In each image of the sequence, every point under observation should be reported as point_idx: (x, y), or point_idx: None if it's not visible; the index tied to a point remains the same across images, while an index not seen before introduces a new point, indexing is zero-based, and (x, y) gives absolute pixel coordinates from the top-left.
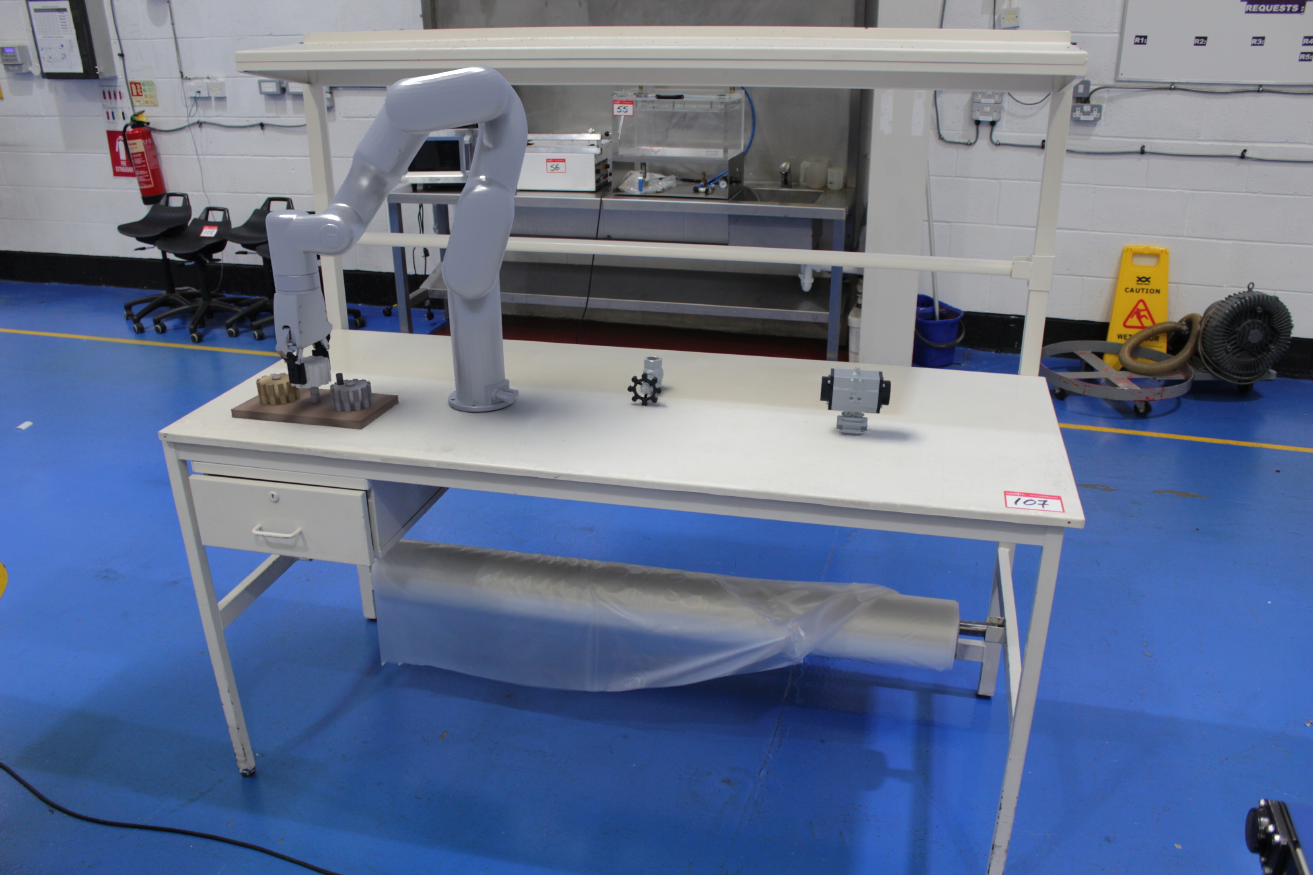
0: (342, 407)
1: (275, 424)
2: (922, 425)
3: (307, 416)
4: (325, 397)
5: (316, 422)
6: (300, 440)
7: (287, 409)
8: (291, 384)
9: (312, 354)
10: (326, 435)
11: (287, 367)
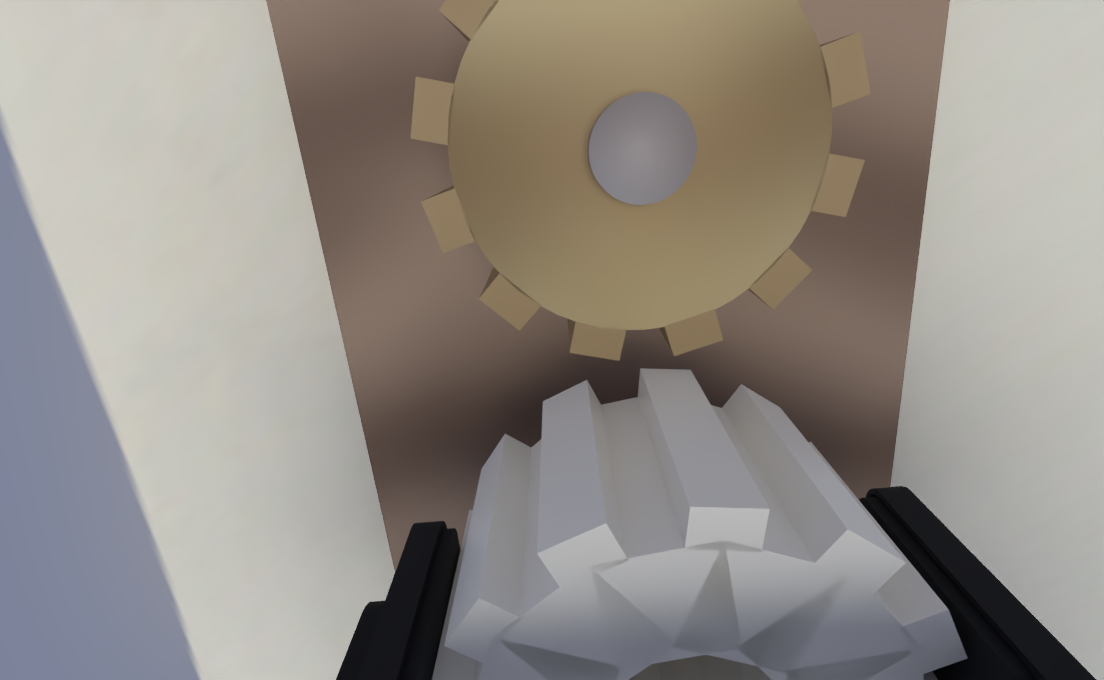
0: None
1: (317, 339)
2: None
3: (390, 543)
4: None
5: None
6: (209, 599)
7: (437, 358)
8: (496, 450)
9: (983, 651)
10: (320, 663)
11: (363, 666)
